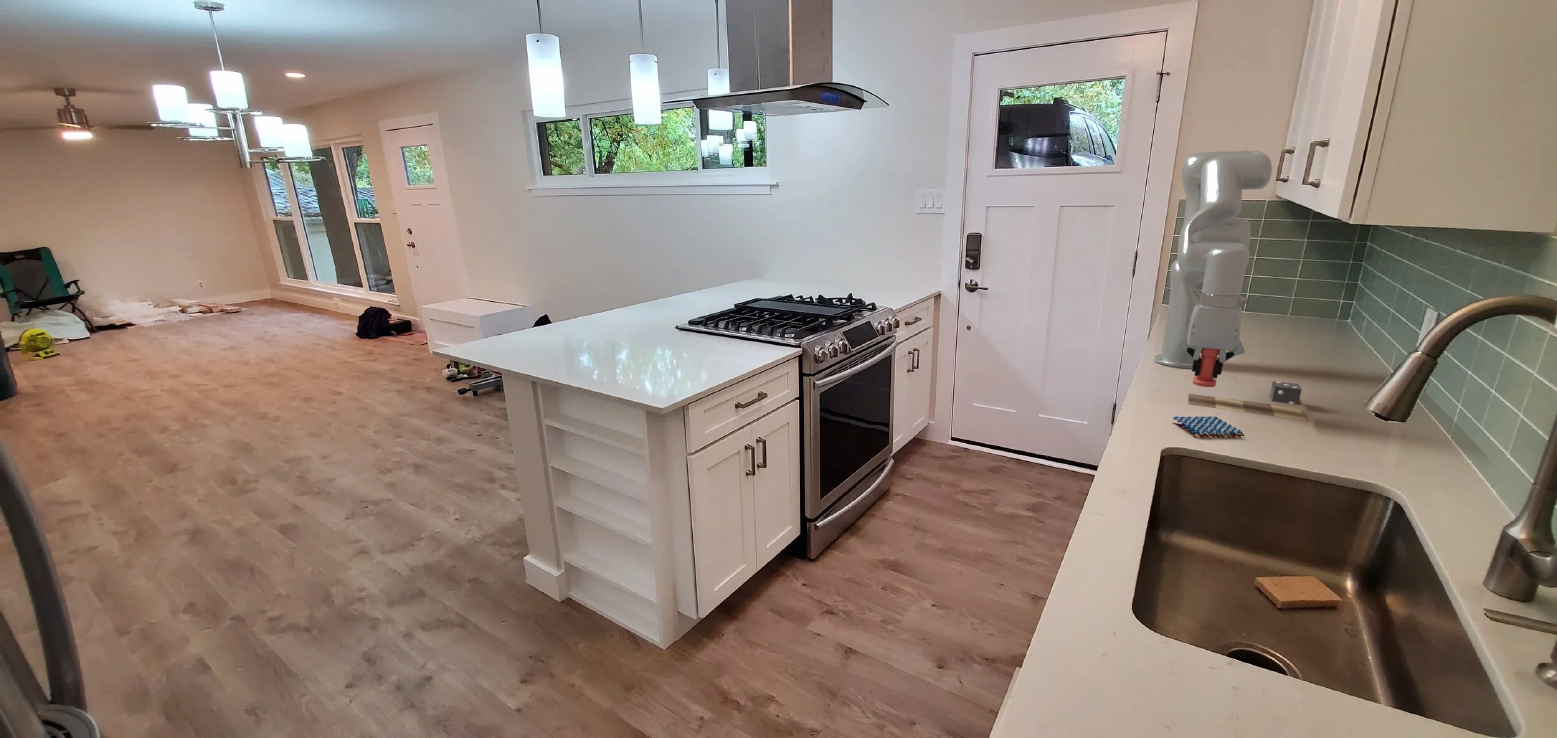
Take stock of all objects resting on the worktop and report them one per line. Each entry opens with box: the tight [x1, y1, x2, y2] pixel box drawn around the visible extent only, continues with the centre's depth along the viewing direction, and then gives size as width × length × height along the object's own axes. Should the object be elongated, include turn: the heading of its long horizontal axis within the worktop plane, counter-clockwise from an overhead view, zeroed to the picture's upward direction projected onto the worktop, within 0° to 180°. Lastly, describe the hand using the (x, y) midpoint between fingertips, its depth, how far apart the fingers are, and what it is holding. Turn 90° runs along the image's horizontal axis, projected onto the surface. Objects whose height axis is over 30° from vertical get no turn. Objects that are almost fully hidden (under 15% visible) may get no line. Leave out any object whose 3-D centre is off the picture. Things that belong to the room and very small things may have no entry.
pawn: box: [1192, 348, 1220, 388], centre depth 151 cm, size 5×5×10 cm
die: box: [1269, 380, 1302, 405], centre depth 152 cm, size 5×5×5 cm
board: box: [1187, 393, 1306, 421], centre depth 149 cm, size 9×22×1 cm, turn 58°
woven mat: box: [1172, 415, 1245, 440], centre depth 138 cm, size 10×11×2 cm
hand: (1205, 375), depth 152 cm, fingers closed on pawn, 3 cm apart
